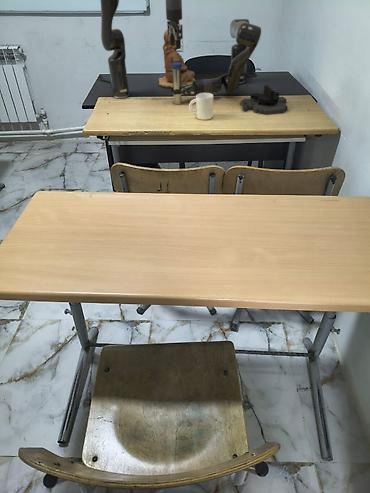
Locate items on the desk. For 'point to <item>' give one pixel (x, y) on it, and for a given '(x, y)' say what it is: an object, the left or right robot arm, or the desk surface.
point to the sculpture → (172, 57)
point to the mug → (203, 106)
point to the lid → (176, 65)
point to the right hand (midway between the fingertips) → (172, 91)
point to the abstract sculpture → (265, 102)
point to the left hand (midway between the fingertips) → (175, 47)
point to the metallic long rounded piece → (177, 85)
